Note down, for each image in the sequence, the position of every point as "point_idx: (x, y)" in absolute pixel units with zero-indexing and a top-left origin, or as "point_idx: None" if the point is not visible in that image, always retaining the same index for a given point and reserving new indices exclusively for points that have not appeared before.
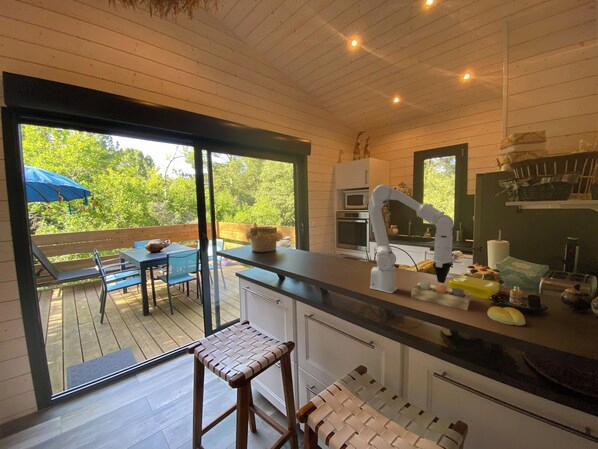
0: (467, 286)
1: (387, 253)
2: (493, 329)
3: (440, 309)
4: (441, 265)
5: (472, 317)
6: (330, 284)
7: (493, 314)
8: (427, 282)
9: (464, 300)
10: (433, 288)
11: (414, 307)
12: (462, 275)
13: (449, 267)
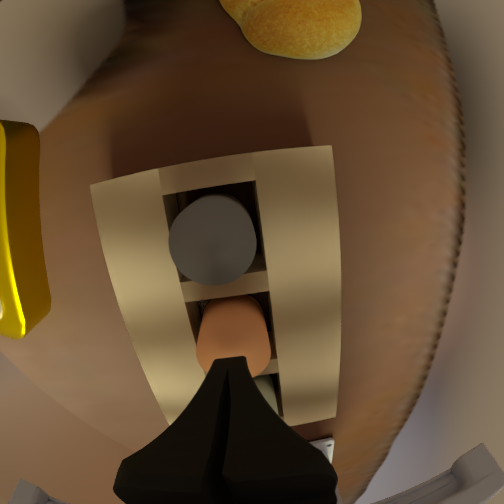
0: (11, 237)
1: None
2: (432, 57)
3: (392, 255)
4: (493, 458)
5: (387, 118)
6: (355, 501)
7: (356, 33)
8: None
9: (317, 166)
10: None
11: (426, 332)
12: None
13: (318, 463)
